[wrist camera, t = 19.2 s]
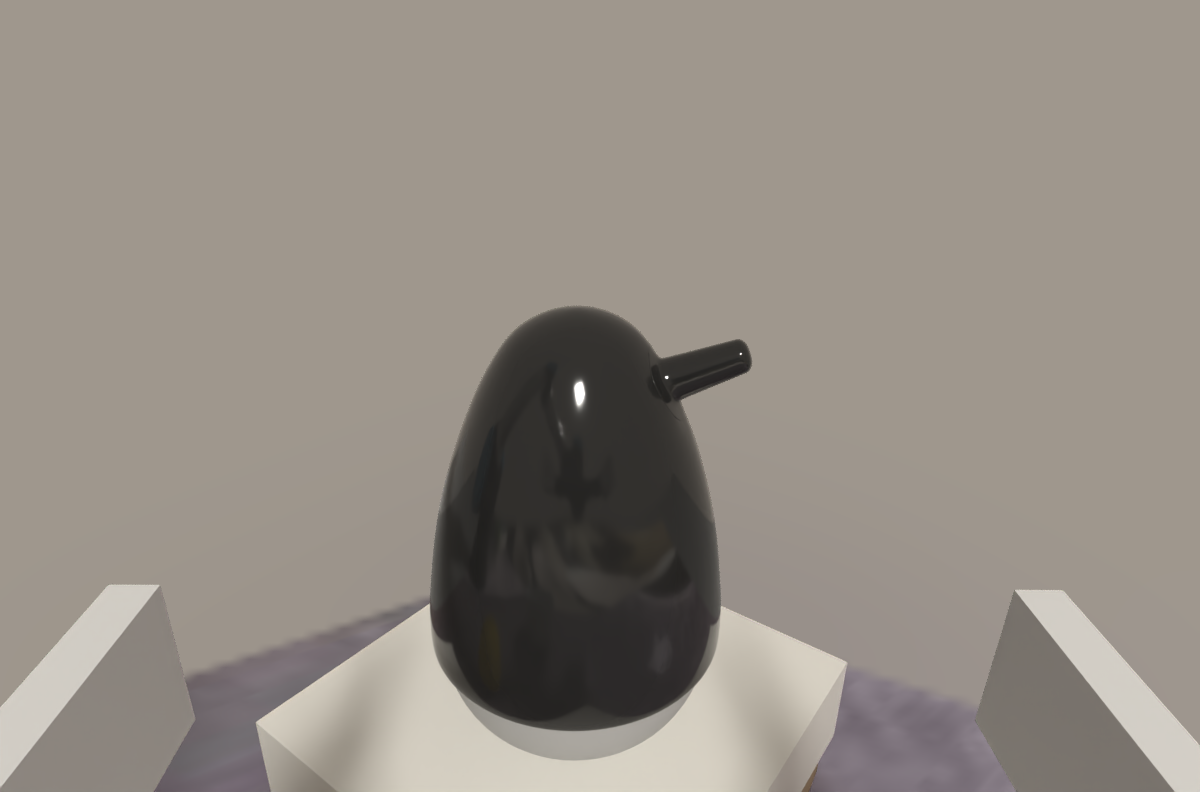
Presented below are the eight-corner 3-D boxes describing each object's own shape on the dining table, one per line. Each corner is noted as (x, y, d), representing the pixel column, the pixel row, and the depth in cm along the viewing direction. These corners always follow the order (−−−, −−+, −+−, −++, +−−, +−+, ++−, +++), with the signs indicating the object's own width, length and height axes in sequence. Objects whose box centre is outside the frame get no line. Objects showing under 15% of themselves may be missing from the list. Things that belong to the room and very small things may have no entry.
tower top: (272, 800, 29) (255, 722, 28) (544, 589, 41) (543, 526, 40) (615, 1116, 21) (619, 1030, 19) (833, 735, 33) (847, 662, 31)
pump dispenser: (726, 828, 24) (780, 381, 18) (402, 802, 25) (348, 363, 19) (709, 614, 34) (741, 272, 27) (473, 599, 34) (453, 262, 28)
